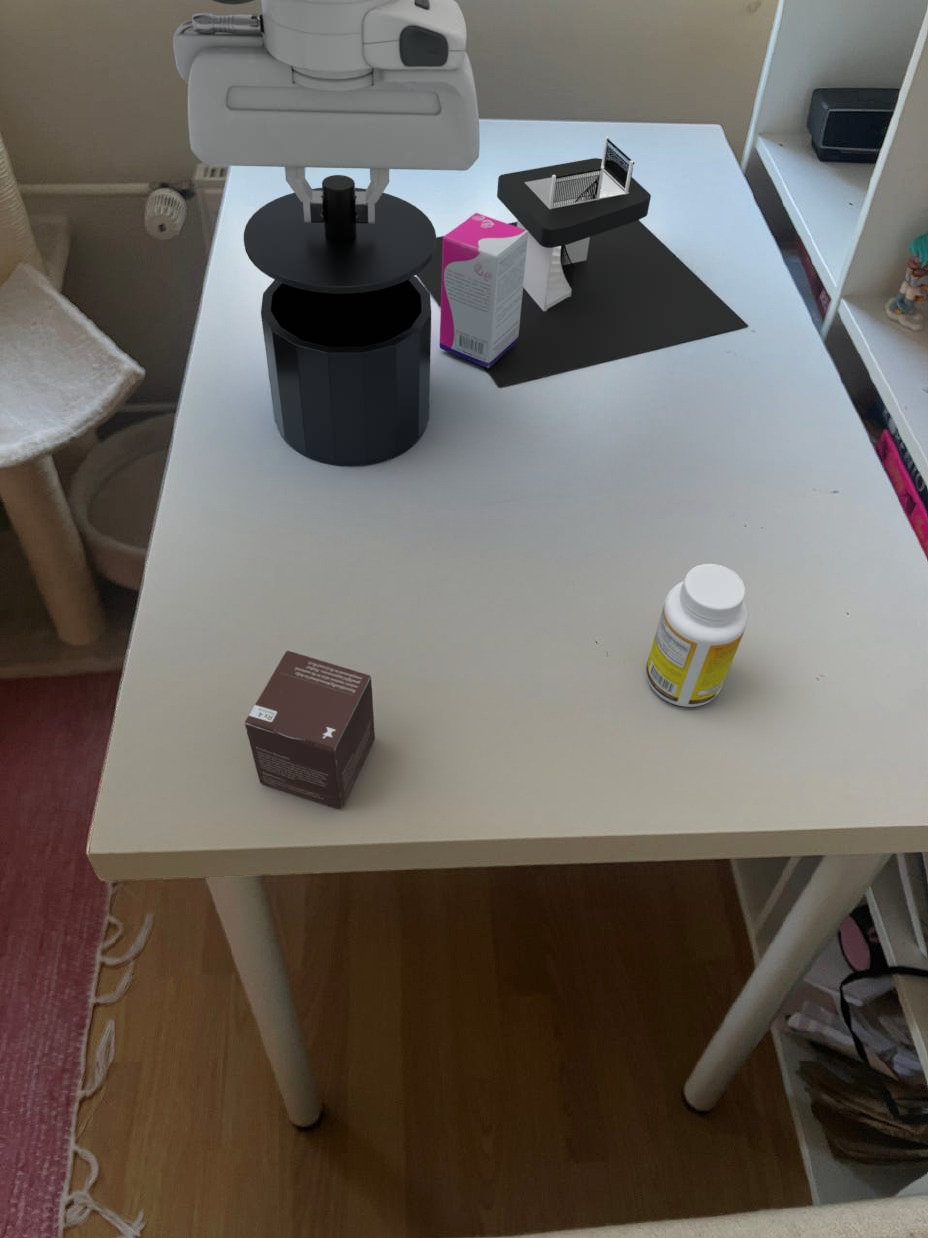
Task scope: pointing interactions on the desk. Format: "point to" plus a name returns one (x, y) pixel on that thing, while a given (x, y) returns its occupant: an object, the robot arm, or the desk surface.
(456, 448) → the desk surface
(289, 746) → the box
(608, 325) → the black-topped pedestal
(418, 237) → the bin lid
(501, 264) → the supplement box
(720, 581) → the supplement bottle
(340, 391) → the trash can
